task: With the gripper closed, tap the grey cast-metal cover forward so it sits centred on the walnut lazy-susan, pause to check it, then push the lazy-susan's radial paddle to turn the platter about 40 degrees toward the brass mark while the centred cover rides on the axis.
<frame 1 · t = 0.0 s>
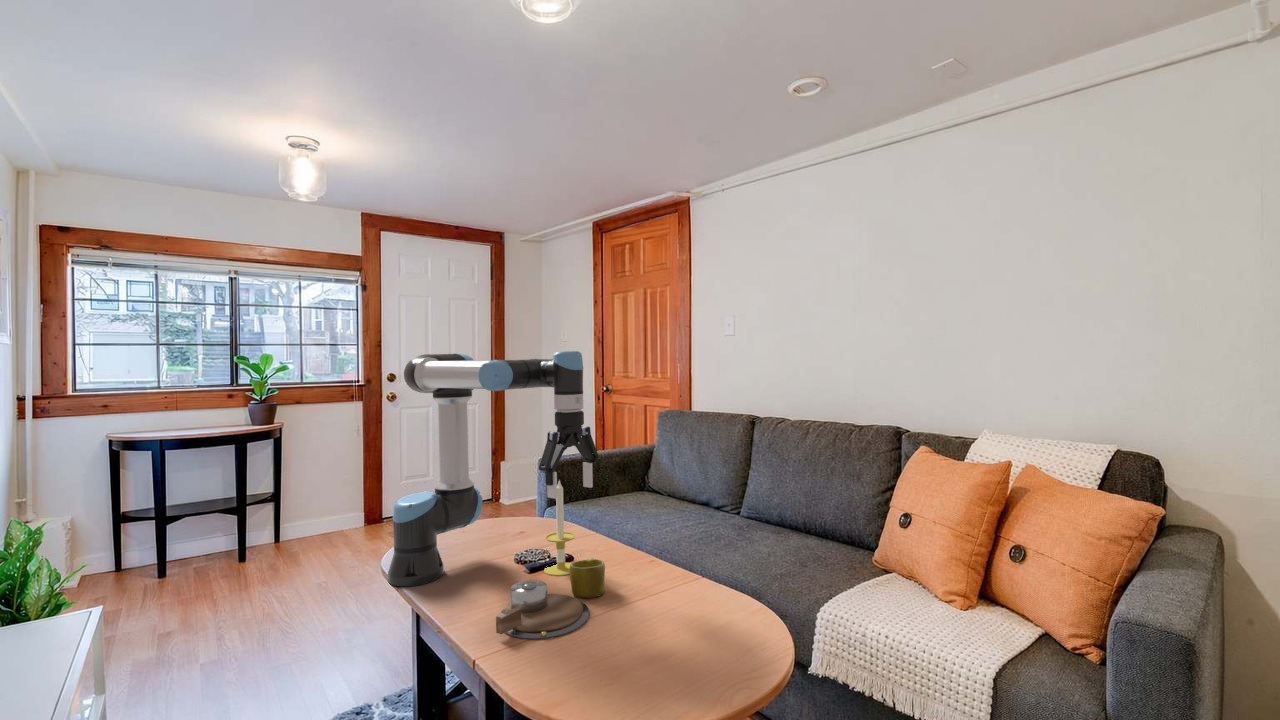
hand: (570, 492, 148), 28 cm above the table, fingers open, 13 cm apart
susan base: (543, 617, 139), on the table
mug: (589, 591, 154), on the table
platter: (536, 607, 137), point 3 cm above the table, hinge at 0.0°, touching cover
candle: (561, 570, 169), on the table
cover: (529, 605, 141), point 2 cm above the table, touching platter
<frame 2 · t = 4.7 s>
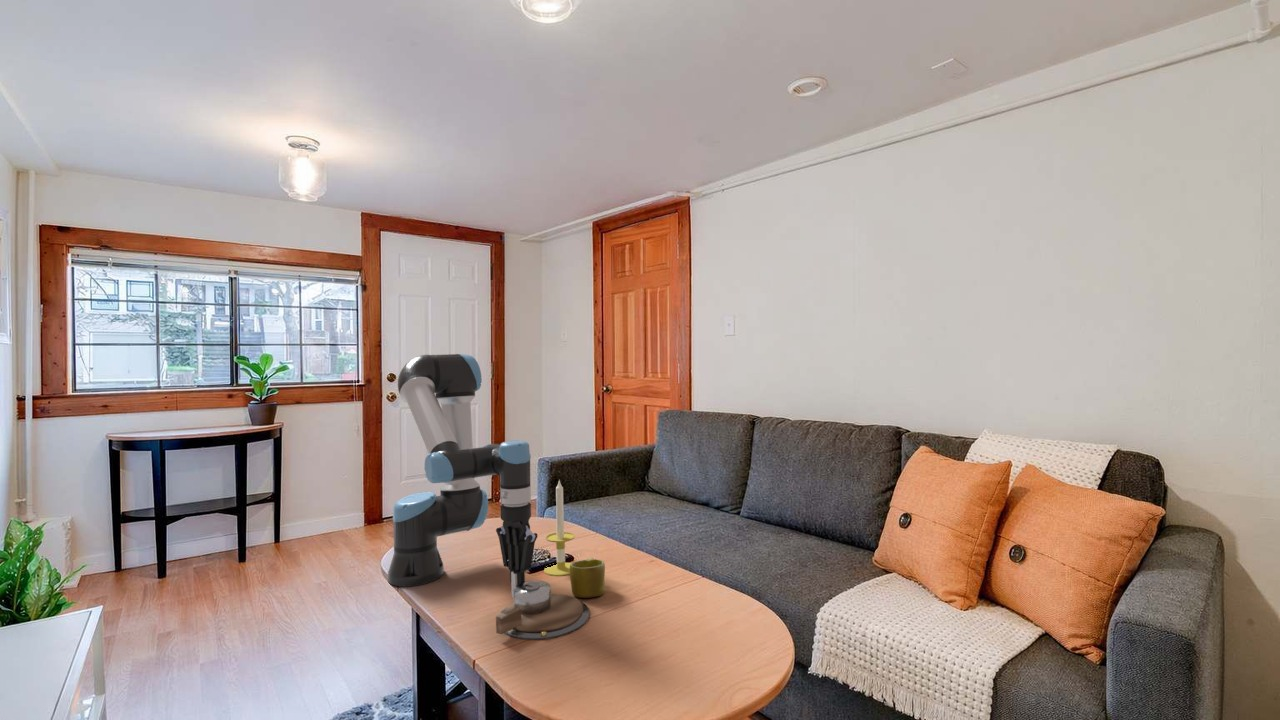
hand: (517, 596, 144), 3 cm above the table, fingers closed
platter: (536, 607, 137), point 3 cm above the table, hinge at 0.0°
cover: (532, 606, 141), point 2 cm above the table, touching gripper
everything else where it was.
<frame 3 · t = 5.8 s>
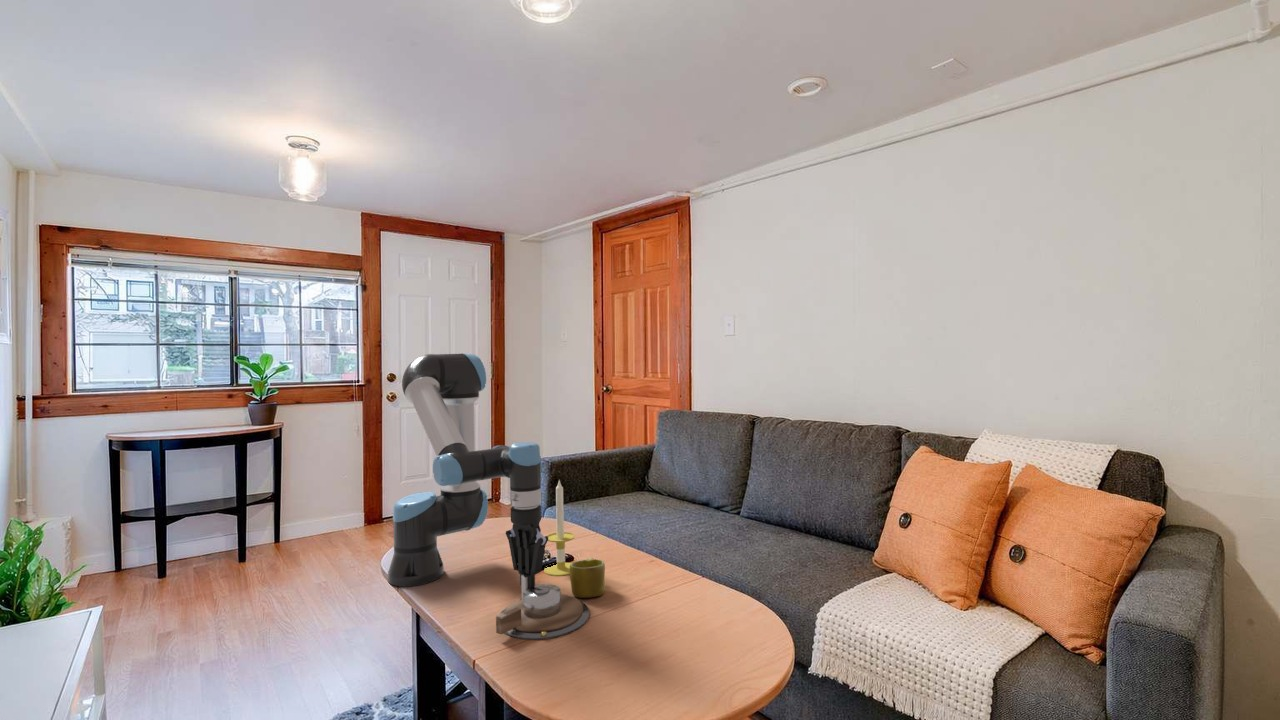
hand: (527, 600, 142), 3 cm above the table, fingers closed
platter: (536, 607, 137), point 3 cm above the table, hinge at 0.0°, touching cover
cover: (542, 610, 139), point 2 cm above the table, touching gripper, platter
everything else where it was.
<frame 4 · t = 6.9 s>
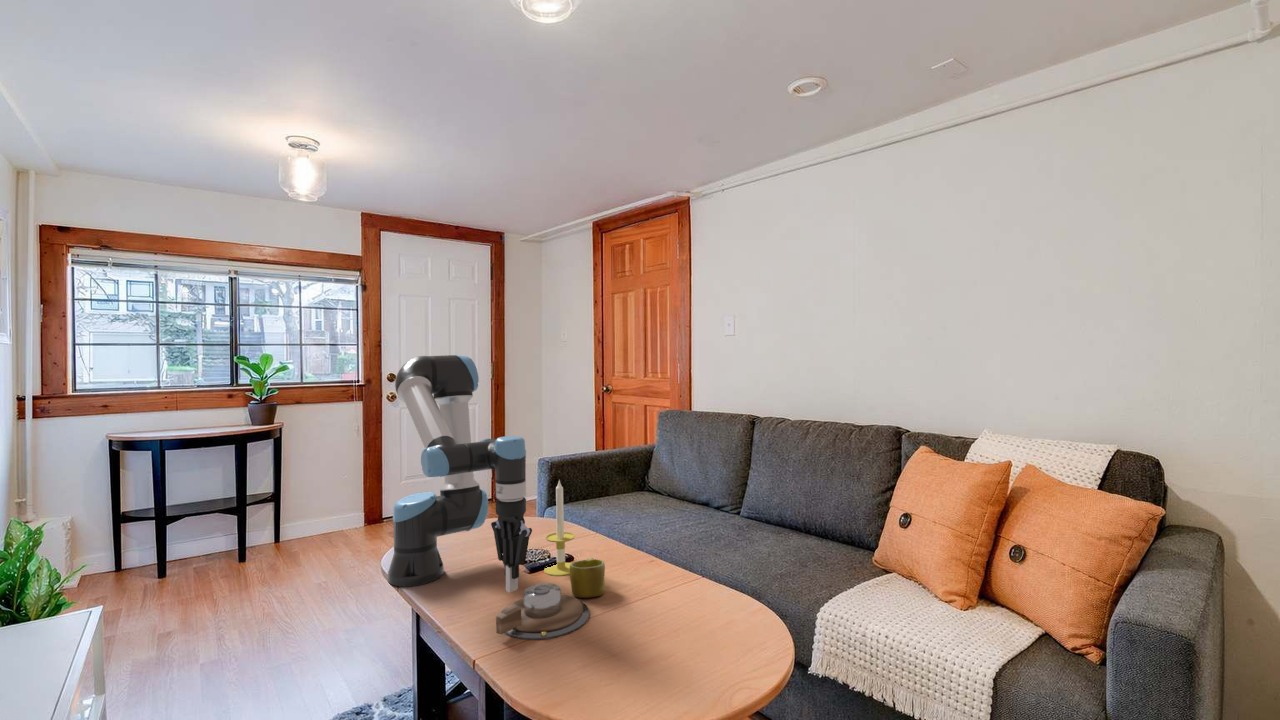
hand: (512, 589, 145), 4 cm above the table, fingers closed
cover: (542, 609, 139), point 2 cm above the table, touching platter
everything else where it was.
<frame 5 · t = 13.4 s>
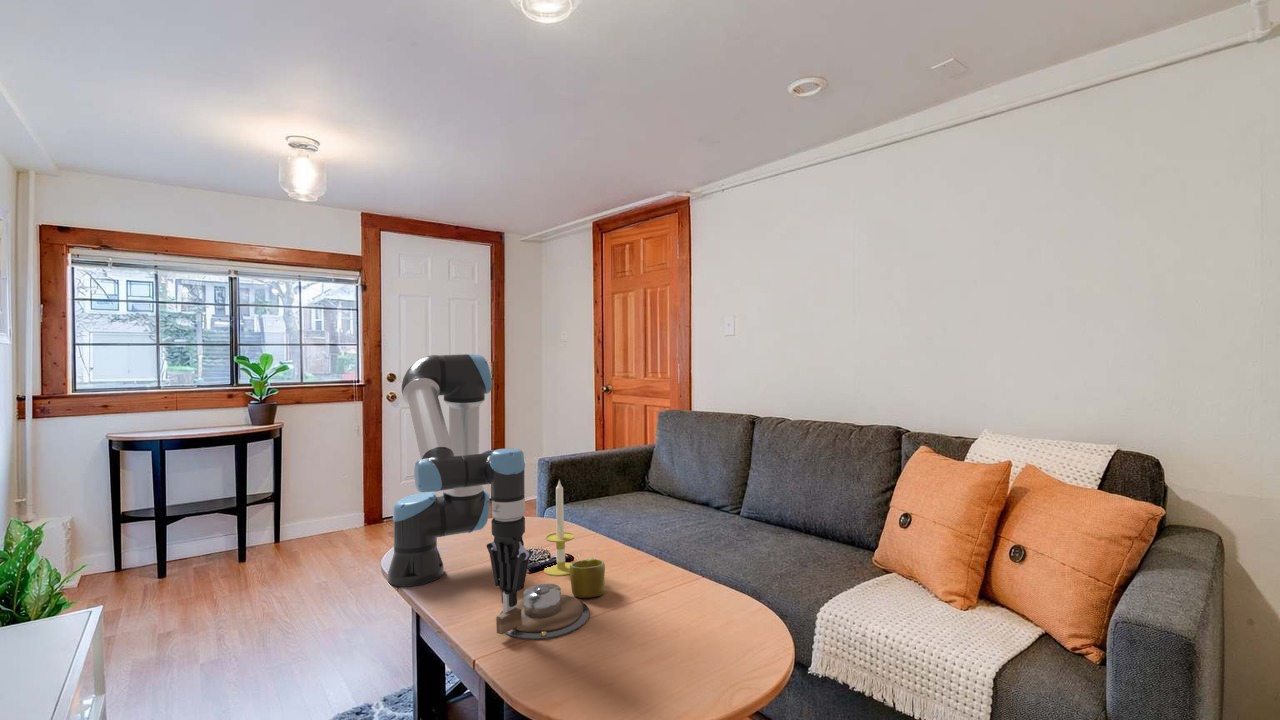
hand: (509, 618, 131), 3 cm above the table, fingers closed
platter: (537, 607, 137), point 3 cm above the table, hinge at 0.5°, touching cover, gripper
everything else where it was.
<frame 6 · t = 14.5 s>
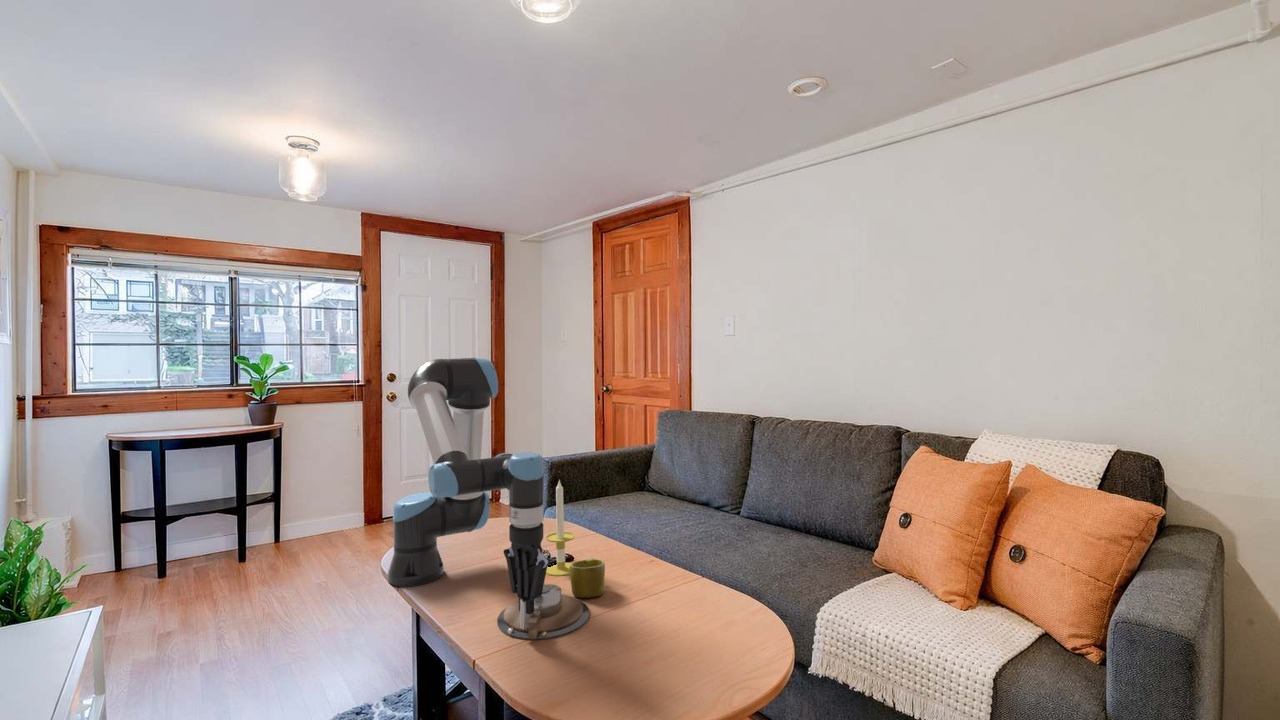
hand: (526, 626, 129), 2 cm above the table, fingers closed
platter: (542, 608, 136), point 3 cm above the table, hinge at 35.0°, touching cover, gripper
everything else where it was.
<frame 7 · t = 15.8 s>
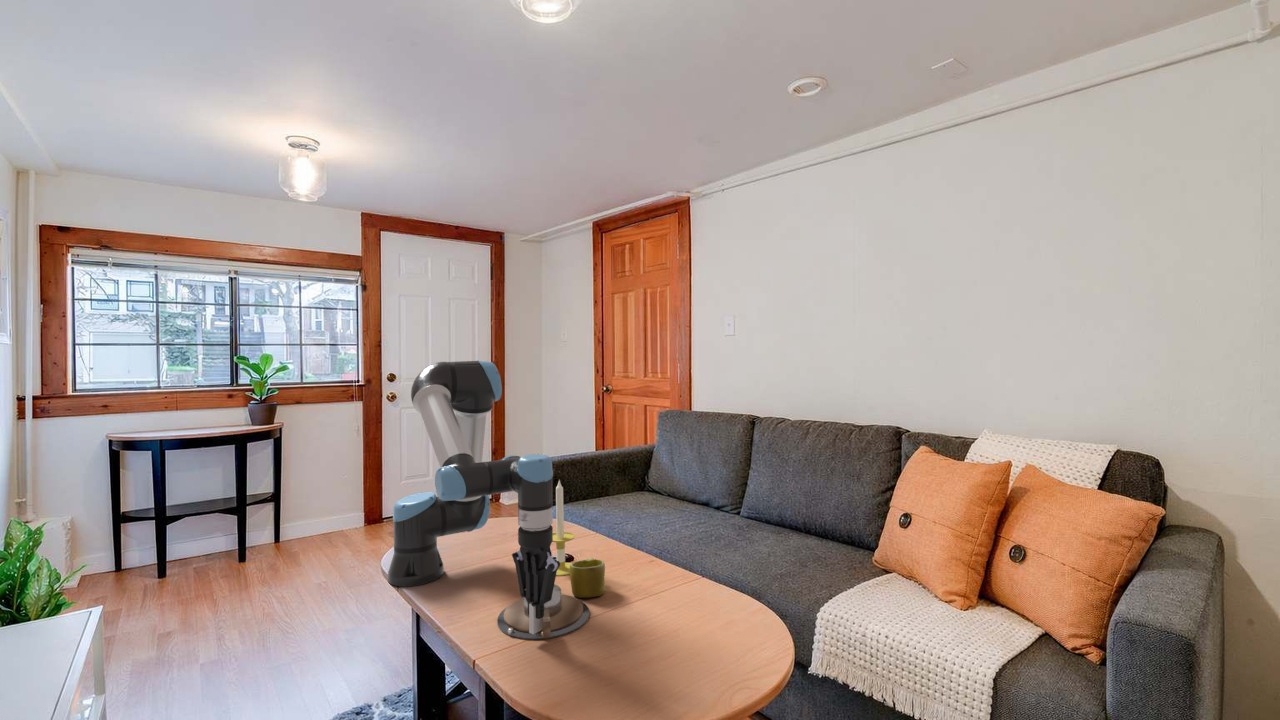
hand: (535, 631, 127), 2 cm above the table, fingers closed
platter: (544, 608, 136), point 3 cm above the table, hinge at 47.9°, touching cover, gripper
everything else where it was.
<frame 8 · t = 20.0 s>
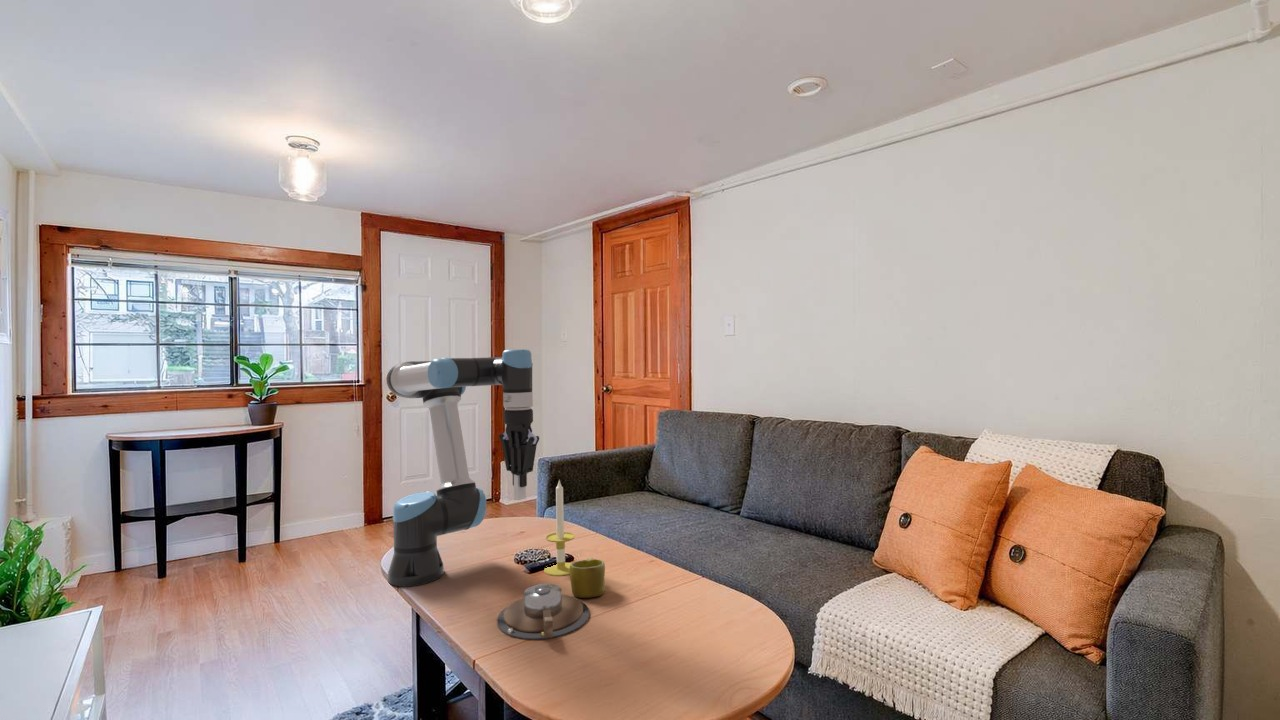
hand: (520, 498, 149), 26 cm above the table, fingers closed
platter: (544, 608, 136), point 3 cm above the table, hinge at 49.9°, touching cover
everything else where it was.
at the end: platter at +50° (first picture: +0°); cover 0.2 cm from the platter (horizontally); cover tilted 2° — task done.
